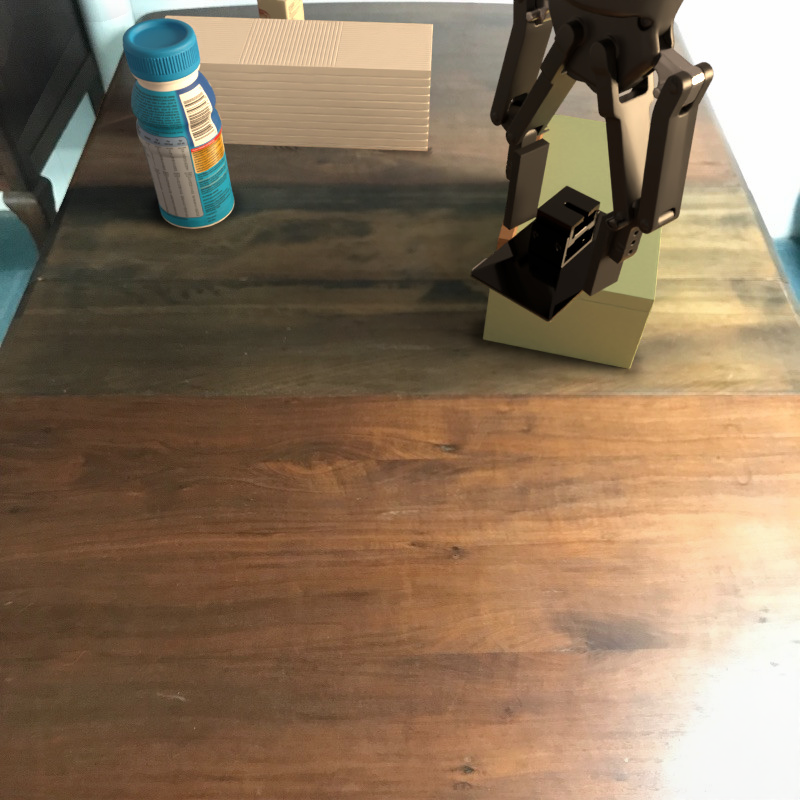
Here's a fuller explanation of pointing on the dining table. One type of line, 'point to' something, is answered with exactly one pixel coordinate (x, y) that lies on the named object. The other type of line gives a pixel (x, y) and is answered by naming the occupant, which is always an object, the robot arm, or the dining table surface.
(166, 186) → the beverage bottle
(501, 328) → the olive green box
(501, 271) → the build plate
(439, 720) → the dining table surface
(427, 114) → the beige ridged block
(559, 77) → the robot arm
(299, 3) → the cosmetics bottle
